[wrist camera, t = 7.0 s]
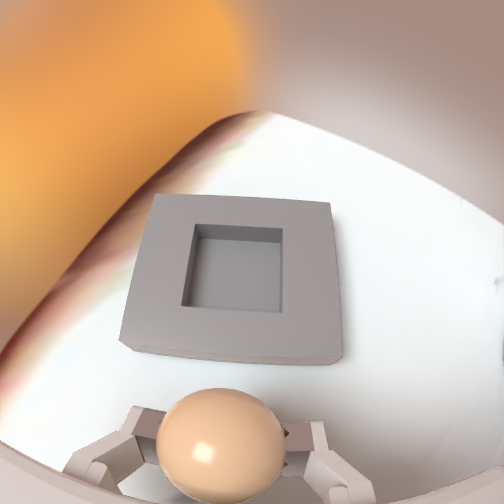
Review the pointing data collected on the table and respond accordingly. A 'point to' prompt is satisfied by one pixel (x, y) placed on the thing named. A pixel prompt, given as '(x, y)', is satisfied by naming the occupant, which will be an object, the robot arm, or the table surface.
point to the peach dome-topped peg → (221, 446)
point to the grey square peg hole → (236, 281)
